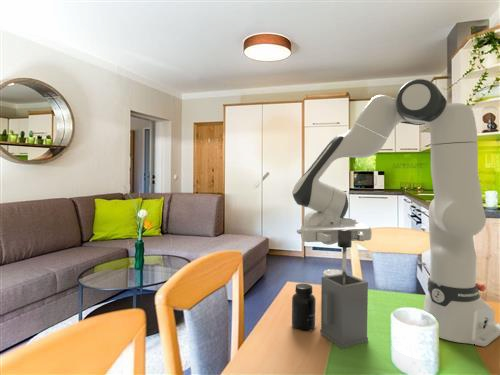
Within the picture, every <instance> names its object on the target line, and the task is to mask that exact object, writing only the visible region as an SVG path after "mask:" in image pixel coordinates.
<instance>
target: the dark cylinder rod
mask: <svg viewBox="0 0 500 375" xmlns="http://www.w3.org/2000/svg"><path fill="white" fill-rule="evenodd" d="M352 243H353V241H352V230H349V229H338V243H337V247H339V248H342V264H341V265H342V268H341V269H342V285H347V284H346V273H347V250H348V249H350V248H352V246H353V245H352Z"/></svg>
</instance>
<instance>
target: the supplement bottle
mask: <svg viewBox="0 0 500 375" xmlns="http://www.w3.org/2000/svg"><path fill="white" fill-rule="evenodd" d="M291 298H292V299H291V325H292V327H293V328H294V329H296V330H298V331H303V332H307V331H308V332H310V331H311V330H313V329H315V327H316V297H315V295H314V294H313V285H311V284H309V283H298V284H296V285H295V293H294V294H293V295H292V297H291Z"/></svg>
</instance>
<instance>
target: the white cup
mask: <svg viewBox="0 0 500 375" xmlns="http://www.w3.org/2000/svg"><path fill="white" fill-rule="evenodd" d="M337 274H342V270H341V269H336V268H335V269H332V268H331V269H325V270H324V271H323V277H326V276H331V275H337Z"/></svg>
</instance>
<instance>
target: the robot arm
mask: <svg viewBox="0 0 500 375" xmlns="http://www.w3.org/2000/svg"><path fill="white" fill-rule="evenodd" d="M361 110H362V111H361V112H360V113H359V115H358V116H357V118H356V120H355V122H354V123H353V125H352V126H351V128H349V130H347V131H346V132H344V133H343V134H339V135H336V136H335V137H334V138H332V139H331V141H330V142H329V143H328V144H327V145H326V147H325V148H324V149H322V151H321V152H320V154H319V155H318V156H317V157H316V159H315V161H314V162H313V163H312V164H311V165H310V167H309V168H308V169H307V170H306V171H305V173H303V175H302V176H301V177H300V179H299V180H297V182H296V183H295V184H294V187H293V189H292V193H291V194H292V197H293V199H294V201H295V203H296V204H297V205H298V206H302V207H305V208H309V209H311V210H312V211H309V212H308V213H306V214H305V216H304V218H303V225H302V226H301V227H300V229H297V230H296V233H297V234H298V235H300V238H301V240H302V241H303V242H306V243H318V242H319V243H322V244H324V245H328V246H329V245H334V244H336V243H337V244H338V229H349V230H352V242H353V241H355V242H356V241H357V242H365V241H370V240H371V239H372V232H373V231H372V228H371V227H370V226H368V225H366V224H365V223H362V222H358V221H357V220H356V219H355V218H347V217H346V218H345V216H346V215H347V212H348V209H349V198H348V195H347V193H346V192H345V191H343V190H341V189H338V188H336V187H335V186H332V185H329V184H327V183H325V182H323V181H320V179H321V177H322V176H323V175H324V173H325V172H326V171H327V170H328V169H329V167H330V166H331V165H332V164H333V162H334V161H337V160H338V159H342V158H357V159H362V158H363V159H365V158H368V157H373V156H374V155H376V154H378V153H379V152H380V151H381V150H382V148H383V147H384V146H385V144H386V143H387V140H388V138H389V136H390V135H391V134H392V132H393V131H394V129H395V128H396V126H397V125H399V124H400V123H401V124H406V125H414V126H423V125H426V126H427V127H428V128H429V134H430V175H431V180H432V181H431V182H432V189H433V190H432V191H433V199H432V200H431V202H430V204H429V205H428V206H429V207H428V229H429V230H428V233H429V248H430V250H429V252H430V256H429V257H430V258H429V259H430V260H429V261H430V262H429V277H428V279H427V284H426V285H427V293H425V297H424V302H423V303H424V305H423V310H424V311H426V312H428V313H430V314H432V315H433V316H434V317H435V318H436V320H437V321H438V323H439V337H438V338H440V339H443V340H446V341H450V342H455V343H460V344H461V343H463V344H471V345H474V344H475V346H480V347H487V346H488V345H489V344H491V343H492V342H493V341H494V340H496V339H498V337H500V323H499V322H496V321H495V310H494V309H493V307H492V306H491V305H489V304H488V303H487V302H486V301H485V300H483V299H482V298H481V295H480V292H485V290H486V285H485V284H483V283H479V282H476V281H477V261H478V260H477V258H478V257H477V253H476V247H475V242H474V236H476V235H478V234H479V233H480V232H481V231H482V230H483V229H484V228H485V225H486V223H487V216H486V213H485V209H484V203H483V202H484V201H483V195H482V189H481V187H482V186H481V182H480V177H479V166H478V165H479V164H478V163H479V160H478V159H479V157H478V153H479V152H478V150H479V148H478V131H477V130H478V129H477V123H476V118H475V113H474V111H473V108H472V107H470V106H469V105H467V104H465V103H462V102H461V103H460V102H455V103H454V102H453V103H452V102H451V103H448V100H447V99H446V97H445V96H444V95H443V93H442V92H441V91H440V89H439V88H438V87H437V85H436V84H435V83H433V82H432V81H431V80H428V79H424V78H422V79H421V78H418V79H417V78H416V79H413V80H410V81H408V82H406V83H405V84H404V85H402V87H401V88H400V89H399V91H398V92H397V95H396V97H393V96H389V95H387V94H386V95H385V94H378V95H375V96H374V97H371V99H370V100H369V101H368V102H367V104H366V105H365V106H364V108H363V109H361Z"/></svg>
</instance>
